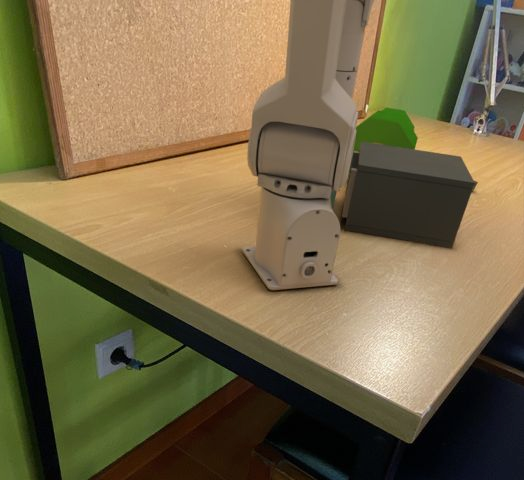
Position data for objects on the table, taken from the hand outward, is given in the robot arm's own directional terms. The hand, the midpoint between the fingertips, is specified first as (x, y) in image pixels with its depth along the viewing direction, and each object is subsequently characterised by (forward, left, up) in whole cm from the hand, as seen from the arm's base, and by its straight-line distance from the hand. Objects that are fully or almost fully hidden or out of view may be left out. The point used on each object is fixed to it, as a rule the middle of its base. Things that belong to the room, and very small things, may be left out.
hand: (316, 178), depth 70 cm
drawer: (-3, -5, -3) cm, 7 cm away
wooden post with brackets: (+4, -29, -4) cm, 30 cm away
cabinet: (-6, -10, -4) cm, 13 cm away
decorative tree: (+14, -19, -4) cm, 24 cm away
